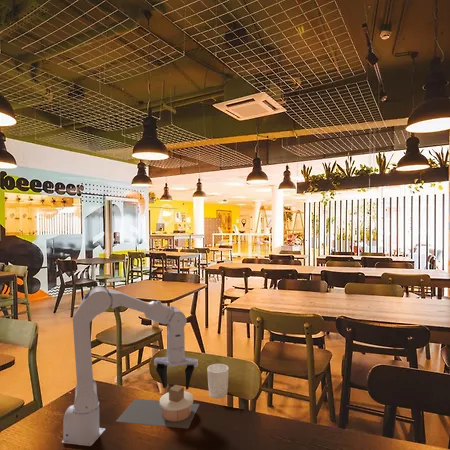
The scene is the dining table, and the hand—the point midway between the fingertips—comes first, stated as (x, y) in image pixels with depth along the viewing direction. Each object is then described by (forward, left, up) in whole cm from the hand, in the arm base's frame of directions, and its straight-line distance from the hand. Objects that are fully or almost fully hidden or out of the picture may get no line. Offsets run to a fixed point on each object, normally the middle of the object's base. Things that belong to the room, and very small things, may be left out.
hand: (176, 387), depth 109 cm
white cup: (+11, +15, -10) cm, 21 cm away
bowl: (0, 0, -9) cm, 9 cm away
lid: (0, 0, -5) cm, 5 cm away
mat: (-6, 0, -9) cm, 11 cm away
